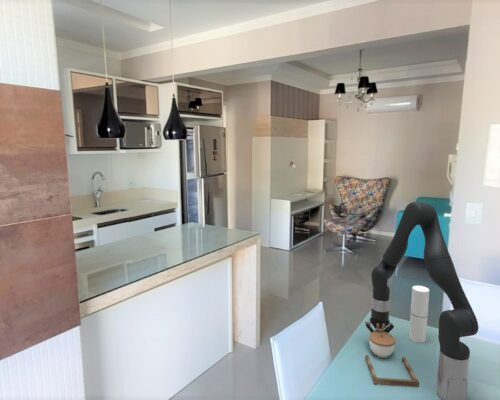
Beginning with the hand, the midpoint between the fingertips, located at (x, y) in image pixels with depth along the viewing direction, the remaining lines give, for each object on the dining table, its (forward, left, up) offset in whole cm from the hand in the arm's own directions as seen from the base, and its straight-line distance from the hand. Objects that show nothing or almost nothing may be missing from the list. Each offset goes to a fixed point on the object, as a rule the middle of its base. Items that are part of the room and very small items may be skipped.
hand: (378, 342), depth 158 cm
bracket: (-19, 0, -2) cm, 19 cm away
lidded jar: (-6, 0, -2) cm, 6 cm away
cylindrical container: (+7, -20, -2) cm, 21 cm away
